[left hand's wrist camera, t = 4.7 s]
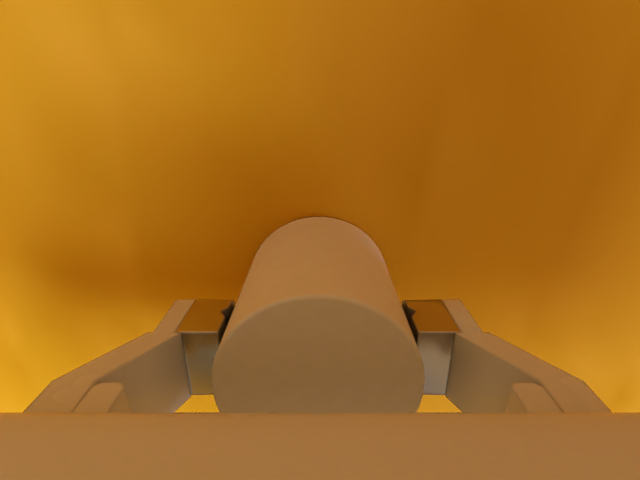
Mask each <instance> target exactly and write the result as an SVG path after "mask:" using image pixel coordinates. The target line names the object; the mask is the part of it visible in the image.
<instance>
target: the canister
mask: <svg viewBox="0 0 640 480" xmlns="http://www.w3.org/2000/svg"><path fill="white" fill-rule="evenodd" d="M211 381H212V389H213V395H214V398H215V402H216V405H217V407H218V409H219V411H220V413H416V412H417V410H418V408H419V405H420V402H421V399H422V396H423V390H424V383H425V375H424V366H423V361H422V358H421V355H420V352H419V350H418V347H417V344H416V342H415V339H414V337H413V334H412V331H411V329H410V326H409V324H408V321H407V318H406V316H405V313H404V310H403V308H402V305H401V303H400V300H399V297H398V295H397V292H396V290H395V287H394V284H393V282H392V279H391V277H390V274H389V271H388V269H387V266H386V264H385V261H384V258H383V256H382V254H381V252H380V250H379V248H378V247H377V245H376V244H375V243H374V241H373V240H372V239H371V238H370V237H369V236H368V235H367V234H366V233H364V232H363V231H362V230H361V229H359V228H357V227H356V226H354V225H352V224H350V223H347V222H345V221H342V220H339V219H335V218H329V217H308V218H303V219H299V220H295V221H292V222H290V223H287V224H285V225H284V226H282V227H280V228H278V229H277V230H276V231H274V232H273V233H272V234H271V235H270V236H269V237H267V238H266V239H265V241H264V242H263V243H262V245H261V246H260V247H259V249H258V251H257V253H256V255H255V257H254V260H253V262H252V265H251V267H250V270H249V272H248V275H247V277H246V280H245V282H244V285H243V287H242V290H241V292H240V295H239V297H238V300H237V302H236V305H235V307H234V310H233V312H232V315H231V317H230V320H229V322H228V325H227V327H226V330H225V332H224V335H223V338H222V340H221V343H220V345H219V348H218V350H217V353H216V355H215V358H214V362H213V367H212V379H211Z"/></svg>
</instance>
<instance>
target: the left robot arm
mask: <svg viewBox="0 0 640 480" xmlns="http://www.w3.org/2000/svg"><path fill="white" fill-rule="evenodd" d="M234 307H235V302H234V300H200V299H198V300H196V299H179V300H176V301H175V302H174V304H173V305H172V306H171V308H170V309H169V311H168V312H167V313H166V315H165V316H164V318H163V319H162V321H161V322H160V323H159V325H158V326H157V328H156V329H155V330H154V332H153V333H146V334H144V335H142V336H140V337H138V338H136V339H134V340H132V341H130V342H128V343H126V344H124V345H122V346H120V347H118V348H116V349H114V350H112V351H110V352H108V353H106V354H104V355H102V356H100V357H98V358H96V359H94V360H92V361H90V362H88V363H86V364H84V365H82V366H81V367H79V368H77V369H75V370H73V371H71V372H69V373H67V374H65V375H63V376H61V377H59V378H57V379H55V380H53V381H52V382H51V383H50V384H49V385H48V386H47V387H46V388H45V389H44V390H43V391H42V392H41V393H40V394H39V396H38V397H37V398H36V399H35V400H34V401H33V402H32V403H31V404H30V405H29V406H28V407H27V408H26V409H25V411H24V412H23V413H0V480H640V413H612V412H611V411H610V409H609V408H608V407H607V406H606V405H605V404H604V403H603V402H602V401H601V400H600V398H599V397H598V396H597V395H596V394H595V393H594V392H593V391H592V390H591V389H590V388H589V386H588V385H587V384H586V383H585V382H584V381H582V380H580V379H578V378H576V377H574V376H572V375H571V374H569V373H567V372H565V371H563V370H561V369H559V368H557V367H555V366H553V365H551V364H549V363H547V362H545V361H543V360H541V359H539V358H537V357H536V356H534V355H532V354H530V353H528V352H526V351H524V350H522V349H520V348H518V347H516V346H514V345H512V344H510V343H508V342H506V341H504V340H502V339H500V338H499V337H497V336H495V335H493V334H491V333H483V331H482V330H481V329H480V327H479V326H478V324H477V323H476V321H475V320H474V319H473V317H472V316H471V314H470V313H469V311H468V310H467V308H466V307H465V306H464V304H463V303H462V301H461V300H459V299H446V300H405V301H403V302H402V308H403V310H404V313H405V316H406V318H407V321H408V324H409V326H410V329H411V331H412V334H413V337H414V339H415V342H416V344H417V347H418V350H419V352H420V355H421V358H422V361H423V366H424V375H425V383H424V390H423V394H428V395H446V397H447V398H448V399H449V400H450V401H451V402H452V403H453V404H454V405H455V406H456V407H458V408H459V409H460V410H461V411H462V412H463V413H174V412H175V411H176V410H177V409H178V408H179V407H180V406H181V405H182V404H183V403H185V402H186V401H187V400H188V399H189V398H190V397H191V395H208V394H213V389H212V381H211V379H212V367H213V362H214V358H215V355H216V353H217V350H218V348H219V345H220V343H221V340H222V338H223V335H224V332H225V330H226V327H227V325H228V322H229V320H230V317H231V315H232V312H233V310H234Z"/></svg>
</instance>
